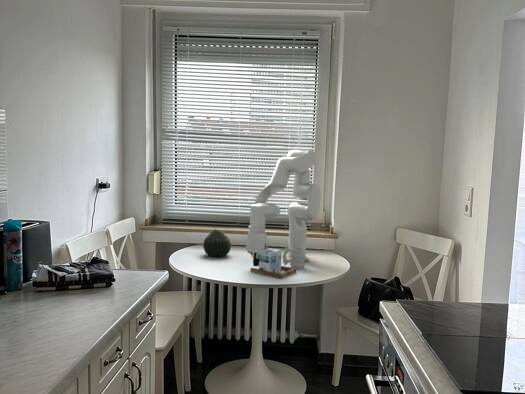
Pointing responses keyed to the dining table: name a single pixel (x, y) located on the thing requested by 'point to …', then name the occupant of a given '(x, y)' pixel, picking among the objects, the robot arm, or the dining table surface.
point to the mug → (294, 257)
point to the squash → (217, 244)
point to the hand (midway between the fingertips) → (256, 265)
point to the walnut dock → (276, 275)
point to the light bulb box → (270, 260)
